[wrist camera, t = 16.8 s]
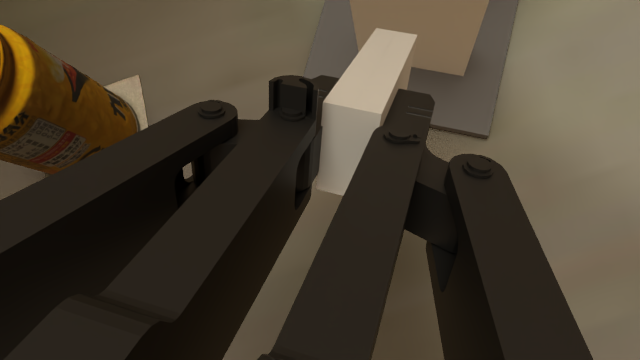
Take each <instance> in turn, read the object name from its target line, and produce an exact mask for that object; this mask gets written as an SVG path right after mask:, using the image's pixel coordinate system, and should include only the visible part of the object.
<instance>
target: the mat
mask: <svg viewBox="0 0 640 360" xmlns="http://www.w3.org/2000/svg"><path fill="white" fill-rule="evenodd" d="M517 5H518V0H489V3H488V6H487V9H486V12H485V15H484V17H483V20H482V23H481V26H480V29H479V32H478V35H477V38H476V41H475V44H474V47H473V50H472V52H471V55H470V58H469V61H468V64H467V67H466V70H465V73H464V76H459V75H454V74H448V73H443V72H437V71H432V70H426V69H421V68H415V67H411V71H410V76H409V81H408V86H407V90H410V91H415V92H420V93H425V94H430V95H431V96H432V98H433V100H434V101H435V106H434V110H433V114H432V118H431V123H430V127H431V128H436V129H441V130H446V131H451V132H456V133H461V134H466V135H470V136H475V137H480V138H485V139H487V137H488V136H489V131H490V127H491V122H492V118H493V113H494V108H495V104H496V99H497V95H498V90H499V86H500V81H501V77H502V72H503V68H504V63H505V59H506V54H507V50H508V45H509V41H510V36H511V32H512V27H513V23H514V18H515V14H516V9H517ZM358 53H359V51H358V45H357V40H356V34H355V29H354V23H353V17H352V12H351V6H350V0H325V3H324V6H323V10H322V13H321V17H320V20H319V24H318V27H317V31H316V34H315V37H314V41H313V44H312V48H311V51H310V55H309V58H308V62H307V65H306V69H305V72H304V76H303V77H306V78H309V79H313V78H315V77H318V76H320V75H325V76H331V77H336V78H341V76H342V75H343V74H344V72H345V71H346V69H347V68H348V67H349V65H350V64H351V63H352V61H353V60H354V58H355V57H356V56H357V54H358Z"/></svg>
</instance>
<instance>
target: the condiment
mask: <svg viewBox="0 0 640 360" xmlns="http://www.w3.org/2000/svg"><path fill="white" fill-rule="evenodd" d="M147 127H148V123H147V118H146V111H145V105H144V99H143V95H142V88H141V83H140V79H139V76H138V75H136V76H133V77H130V78H127V79H124V80H121V81H119V82H115V83H113V84H110V85H107V86H102V85H100V84H99V83H97V82H96V81H94V80H92V79H91V78H90V77H88V76H87V75H85V74H82V73H81V72H79V71H78V70H77V69H76V68H74V67H72V66H71V65H69V64H66V63H65V62H64V61H62V60H60V59H59V58H57V57H55V56H54V55H52V54H51V53H49V52H47V51H46V50H44V49H43V48H41V47H39V46H38V45H36V44H35V43H34V42H33V41H31V40H30V39H28V38H27V37H25V36H23V35H21V34H19V33H17V32H15V31H14V30H12V29H9V28H7V27H5V26H3V25H0V160H3V161H6V162H10V163H13V164H17V165H20V166H24V167H27V168H31V169H35V170H38V171H42V172H45V178H47V177H49V176H51V175H53V174H55V173H57V172H59V171H61V170H63V169H65V168H67V167H69V166H71V165H73V164H75V163H77V162H79V161H81V160H83V159H85V158H87V157H89V156H91V155H93V154H95V153H97V152H99V151H101V150H103V149H105V148H107V147H109V146H111V145H113V144H115V143H117V142H119V141H121V140H123V139H125V138H127V137H129V136H131V135H133V134H135V133H137V132H139V131H141V130H143V129H145V128H147Z"/></svg>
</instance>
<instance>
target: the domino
mask: <svg viewBox="0 0 640 360" xmlns="http://www.w3.org/2000/svg"><path fill="white" fill-rule="evenodd" d="M488 3H489V0H350V6H351V12H352V17H353V23H354V29H355V34H356V40H357V45H358V51H359V52H360V50H361V49H362V47H363V46H364V45H365V43H366V42H367V40H368V39H369V38H370V36H371V35H372V34H373V32H374V31H375V29H376V28H379V29H385V30H391V31H397V32H403V33H409V34H415V35H417V40H416V45H415V50H414V56H413V61H412V66H411V67H415V68H421V69H426V70H432V71H437V72H443V73H448V74H454V75H459V76H464V73H465V70H466V67H467V64H468V61H469V58H470V55H471V52H472V50H473V47H474V44H475V41H476V38H477V35H478V32H479V29H480V26H481V23H482V20H483V17H484V15H485V12H486V9H487V6H488Z"/></svg>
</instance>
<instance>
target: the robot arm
mask: <svg viewBox="0 0 640 360" xmlns="http://www.w3.org/2000/svg"><path fill="white" fill-rule="evenodd" d="M416 40H417V35H415V34H409V33H403V32H397V31H391V30H385V29H379V28H376V29H375V31H374V32H373V34H372V35H371V36H370V38H369V39H368V40H367V42H366V43H365V45H364V46H363V47H362V49H361V50H360V52H359V53H358V54H357V56H356V57H355V58H354V60H353V61H352V63H351V64H350V65H349V67H348V68H347V69H346V71H345V72H344V74H343V75H342V76H341V78H336V77H331V76H325V75H320V76H318V77H315V78H313V79H309V78H306V77H302V76H294V75H289V76H280V77H276V78H273V79H272V80H270V81H269V110H268V111H267V113H266V114H265V115H264V116H263V117H262V118H261V119H260V120H240V119H238V115H237V109H236V108H235V106H233V105H231V104H229V103H226V102H222V101H219V100H216V101H215V100H208V101H204V102H199V103H196V104H193V105H191V106H189V107H187V108H185V109H183V110H181V111H179V112H177V113H175V114H173V115H171V116H169V117H167V118H165V119H163V120H161V121H159V122H157V123H155V124H153V125H151V126H149V127H147V128H145V129H143V130H141V131H139V132H137V133H135V134H133V135H131V136H129V137H127V138H125V139H123V140H121V141H119V142H117V143H115V144H113V145H111V146H109V147H107V148H105V149H103V150H101V151H99V152H97V153H95V154H93V155H91V156H89V157H87V158H85V159H83V160H81V161H79V162H77V163H75V164H73V165H71V166H69V167H67V168H65V169H63V170H61V171H59V172H57V173H55V174H53V175H51V176H49V177H47V178H45V179H43V180H41V181H39V182H36V183H34V184H32V185H30V186H28V187H26V188H24V189H22V190H20V191H18V192H16V193H14V194H12V195H10V196H8V197H6V198H4V199H2V200H0V360H222V359H223V357H224V355H225V353H226V352H227V350H228V348H229V346H230V344H231V342H232V341H233V339H234V337H235V335H236V333H237V331H238V330H239V328H240V326H241V324H242V322H243V321H244V319H245V317H246V315H247V313H248V311H249V310H250V308H251V306H252V304H253V302H254V300H255V299H256V297H257V295H258V293H259V291H260V289H261V288H262V286H263V284H264V282H265V280H266V279H267V277H268V275H269V273H270V271H271V269H272V268H273V266H274V264H275V262H276V260H277V258H278V257H279V255H280V253H281V251H282V249H283V247H284V246H285V244H286V242H287V240H288V238H289V237H290V235H291V233H292V231H293V229H294V227H295V226H296V224H297V222H298V220H299V218H300V216H301V215H302V213H303V211H304V209H305V207H306V205H307V204H308V202H309V200H310V197H311V188H312V182H313V180H314V179H315V177H316V175H317V181H316V189H318V190H322V191H326V192H330V193H334V194H338V195H342V196H343V198H342V200H341V202H340V204H339V207H338V209H337V211H336V213H335V215H334V217H333V220H332V222H331V224H330V226H329V228H328V230H327V233H326V235H325V237H324V239H323V241H322V243H321V246H320V248H319V250H318V252H317V254H316V256H315V258H314V261H313V263H312V265H311V267H310V269H309V271H308V274H307V276H306V278H305V280H304V282H303V284H302V287H301V289H300V291H299V293H298V295H297V297H296V300H295V302H294V304H293V306H292V308H291V310H290V312H289V315H288V317H287V319H286V321H285V323H284V325H283V328H282V330H281V332H280V334H279V336H278V338H277V341H276V343H275V345H274V347H273V349H272V350H271V352H270V353H269V354H268V355H267V354H262V355H261V356H260V357H259V358H258V359H257V360H371V358H372V354H373V350H374V346H375V342H376V338H377V334H378V330H379V326H380V322H381V319H382V315H383V311H384V307H385V303H386V299H387V295H388V291H389V287H390V283H391V279H392V275H393V271H394V267H395V263H396V260H397V256H398V252H399V248H400V244H401V241H402V237H403V233H404V229H406V230H407V231H409V232H411V233H413V234H415V235H417V236H419V237H421V238H423V239H425V240H427V244H426V253H427V259H428V265H429V271H430V276H431V282H432V288H433V294H434V300H435V306H436V312H437V318H438V324H439V330H440V336H441V342H442V347H443V353H444V359H445V360H593V358H592V356H591V354H590V351H589V349H588V347H587V345H586V343H585V341H584V338H583V336H582V334H581V332H580V330H579V328H578V325H577V323H576V321H575V319H574V317H573V315H572V312H571V310H570V308H569V306H568V304H567V302H566V299H565V297H564V295H563V293H562V291H561V289H560V286H559V284H558V282H557V280H556V278H555V276H554V273H553V271H552V269H551V267H550V265H549V263H548V261H547V258H546V256H545V254H544V252H543V250H542V248H541V245H540V243H539V241H538V239H537V237H536V235H535V232H534V230H533V228H532V226H531V224H530V222H529V219H528V217H527V215H526V213H525V211H524V209H523V206H522V204H521V202H520V200H519V198H518V196H517V193H516V191H515V189H514V187H513V185H512V183H511V180H510V178H509V176H508V174H507V172H506V171H505V169H504V168H503V167H502V166H501V165H500V164H498V163H497V162H495V161H494V160H492V159H490V158H488V157H485V156H482V155H475V154H461V155H458V156H454V157H453V158H452V159H451V160H450V162H449V163H448V162H446V161H444V160H442V159H440V158H438V157H436V156H435V155H433V154H432V153H431V152H430V151H429V150H428V149H427V146H426V139H427V135H428V131H429V127H430V123H431V118H432V114H433V110H434V106H435V101H434V100H433V98H432V96H431V95H430V94H425V93H420V92H415V91H410V90H407V86H408V81H409V76H410V71H411V66H412V61H413V56H414V50H415V45H416ZM190 162H191V165H192V173H193V175H192V176H191V177H189V178H187V179H184V177H183V169H182V168H183V167H184V166H185V165H187V164H188V163H190Z"/></svg>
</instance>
